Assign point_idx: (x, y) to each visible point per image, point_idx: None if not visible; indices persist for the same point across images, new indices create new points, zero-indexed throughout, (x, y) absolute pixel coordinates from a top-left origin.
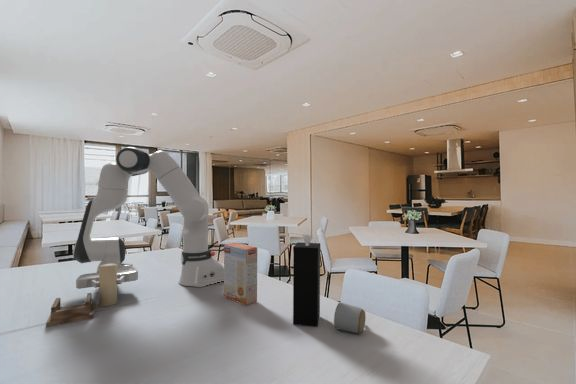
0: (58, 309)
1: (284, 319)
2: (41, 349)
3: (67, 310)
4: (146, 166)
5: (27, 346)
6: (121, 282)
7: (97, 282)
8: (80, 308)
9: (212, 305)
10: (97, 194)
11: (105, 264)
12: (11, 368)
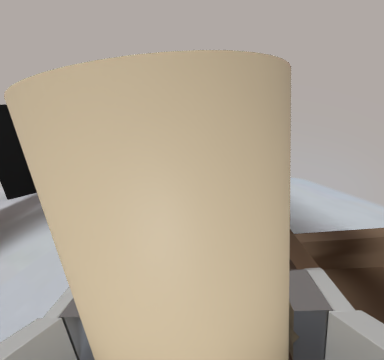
0: None
1: (29, 196)
2: (300, 198)
3: (341, 232)
4: None
5: (339, 206)
6: (58, 358)
7: (294, 273)
8: (297, 236)
9: (3, 238)
10: None
11: (185, 59)
12: (308, 183)
